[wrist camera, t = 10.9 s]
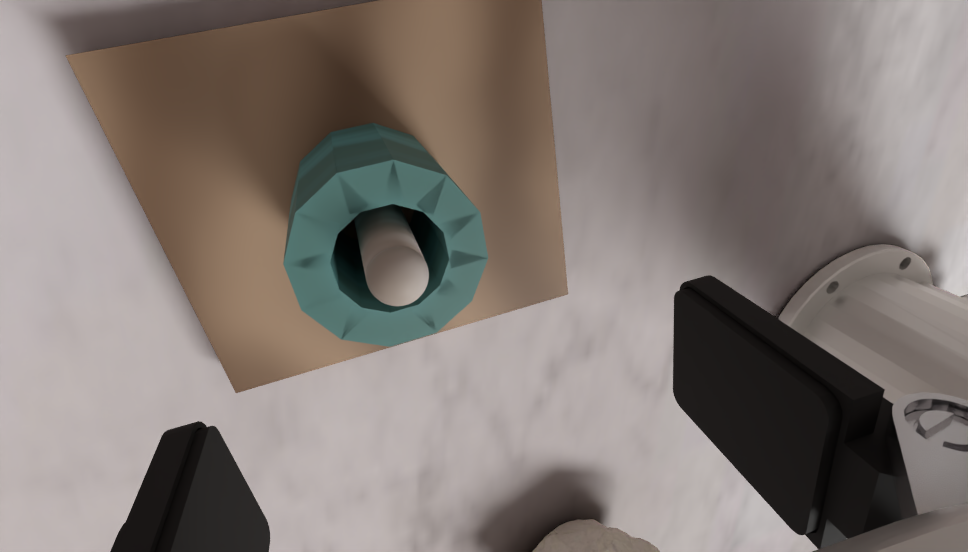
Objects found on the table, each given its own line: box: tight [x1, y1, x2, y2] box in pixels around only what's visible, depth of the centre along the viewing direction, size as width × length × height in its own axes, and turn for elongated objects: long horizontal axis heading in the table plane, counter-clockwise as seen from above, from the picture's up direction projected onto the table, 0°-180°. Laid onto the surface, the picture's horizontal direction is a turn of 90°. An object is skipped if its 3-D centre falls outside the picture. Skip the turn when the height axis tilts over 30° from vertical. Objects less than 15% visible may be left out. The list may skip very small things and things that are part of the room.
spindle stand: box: [66, 0, 568, 393], centre depth 18 cm, size 16×14×9 cm
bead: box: [283, 123, 488, 347], centre depth 19 cm, size 6×6×6 cm
